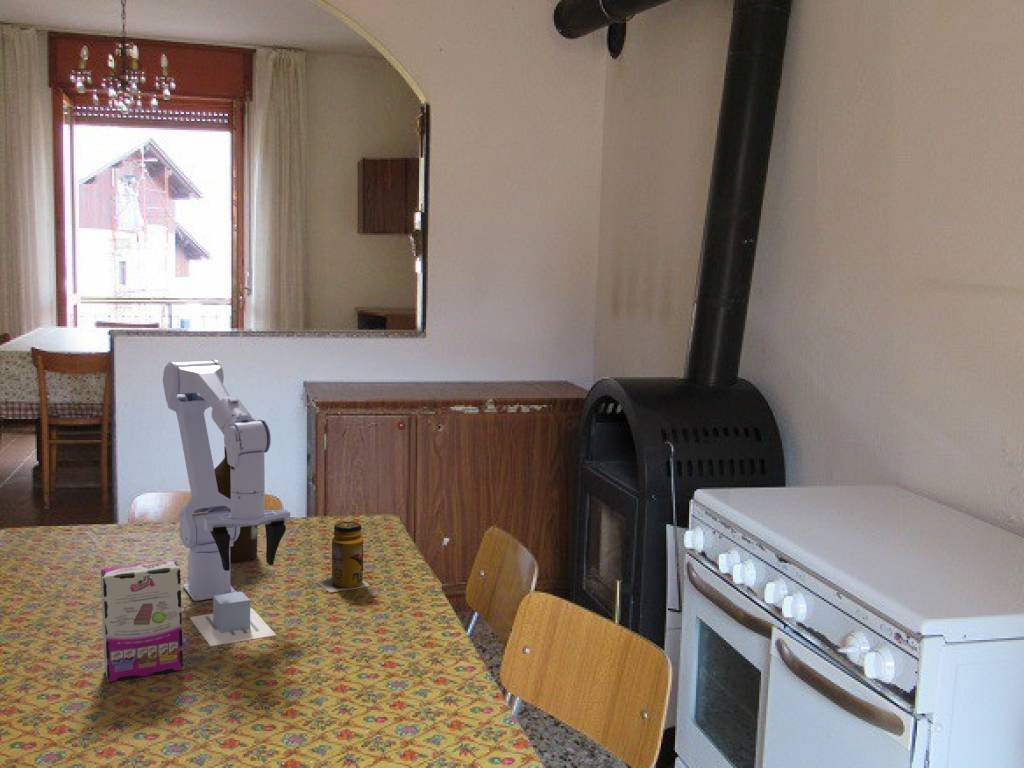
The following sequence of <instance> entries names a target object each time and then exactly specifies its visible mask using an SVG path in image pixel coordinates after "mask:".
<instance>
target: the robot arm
mask: <svg viewBox="0 0 1024 768" xmlns="http://www.w3.org/2000/svg"><path fill="white" fill-rule="evenodd" d="M224 380H225V379H224V370H223V366H222V365H221V363H220V362H219V361H218V360H217V359H211V360H199V361H198V360H195V361H176V362H175V361H168V362H167V363H166V365H165V366H164V369H163V377H162V384H163V385H162V386H163V390H164V396H165V402H166V404H167V408H168V409H169V410H172V411H174V412H175V413H176V418H177V423H178V428H179V434H180V439H181V444H182V450H183V455H184V461H185V466H186V473H187V479H188V483H189V489H190V495H191V497H190V499H188V501H187V502H185V503H184V504H183V506H182V507H181V508H180V510H179V511H178V512H179V513H178V515H179V537H180V540H181V543H182V544H183V546H184V547H185V548H187V549H189V550H188V554H187V569H188V570H187V575H188V576H187V579H188V581H187V582H188V583H184V584H182V585H183V586H182V587H183V588H184V591H186V593H187V594H188V595H189V597H191V599H192V600H193V601H195V602H199V601H204V600H205V601H206V600H211V599H212V600H213V596H215V595H222V594H228V593H235V592H237V590H235V588H234V587H233V586H232V584H231V563H230V547H231V546H233V542H234V541H236V540H237V538H238V536H239V533H240V527H244V526H254V525H258V526H262V525H263V526H265V527H264V528H265V538H266V541H265V542H266V548H265V549H266V550H265V551H266V553H265V560H266V561H265V562H266V564H267V565H269V566H274V564H275V563H274V562H275V558H276V554H277V552H278V551H277V550H278V547H279V545H280V543H281V540H282V538H283V536H284V535H285V533H286V531H287V525H285V524H289V523H291V512H290V510H288V509H280V510H279V509H277V510H267V509H265V505H266V503H265V501H266V500H265V498H266V497H265V495H266V494H265V493H266V492H265V489H266V488H265V487H266V486H265V483H266V481H265V477H266V476H265V453H267V452H268V451H269V450H270V447H271V443H272V442H271V441H272V440H271V439H272V438H271V436H272V435H271V432H270V431H271V430H270V428H269V425H268V423H267V422H266V420H265V419H261V418H260V419H259V418H254V417H253V416H252V414H251V413H250V412H249V411H248V410H247V409H248V408H246V407H245V405H244V404H243V403H242V401H241V400H240V399H239V398H237V397H235V396H230V394H229V392H228V390H227V389H226V387H225V385H224ZM209 408H211V419H212V420H213V421H214V424H216V426H217V427H218V429H219V430H220V432H221V433H222V434H223V436H224V437H223V441H224V447H225V448H226V452H227V461H228V464H229V465H230V476H231V500H230V499H229V498H227V497H225V496H224V495H222V494H220V493H219V492H218V487H217V482H216V476H215V471H214V469H215V466H214V461H213V460H214V459H213V455H212V449H211V446H210V445H211V444H210V439H209V433H208V429H207V428H208V427H207V423H206V418H205V417H206V416H205V411H206V410H207V409H209ZM208 511H213V512H208Z"/></svg>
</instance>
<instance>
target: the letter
mask: <svg viewBox="0 0 1024 768" xmlns="http://www.w3.org/2000/svg"><path fill="white" fill-rule="evenodd" d="M189 618H190V620H191V622H192V623H193V625H194V626H195V627H196V629H197V630H198V631H199V633H200V634H201V635H202V637H203V638H204V640H205V641H206V642H207V643H208V646H209V647H215V646H221V645H226V644H234V643H239V642H245V641H252V640H256V639H262V638H269V637H274V636H277V634H276V632H274V631H273V629H272V628H271V627H270V625H268V624H267V623H266V622H265V621H264V619H262V617H261V616H260V615H259V614H258V613H257V612H256V611H255V609H253V607H250V628H249V629H243V630H237V631H231V632H224V633H221V632H220V631H219V630H218V629H217V627H216V626H215V625H214V624H213V613H209V614H202V615H196V616H189Z"/></svg>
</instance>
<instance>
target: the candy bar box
mask: <svg viewBox="0 0 1024 768" xmlns="http://www.w3.org/2000/svg"><path fill="white" fill-rule="evenodd" d="M181 578H182V577H181V567H180V565H178V563H177V562H176V560H175V559H172V560H163V561H153V562H145V563H139V564H131V565H123V566H115V567H107V568H100V587H101V589H100V591H101V609H102V610H101V612H102V613H101V614H102V636H103V638H102V640H103V657H104V659H103V661H104V672H105V676H106V680H107V682H108V683H110V682H111V683H112V682H118V681H124V680H131V679H135V678H136V679H137V678H140V677H141V678H142V677H148V676H149V677H150V676H154V675H159V674H167V673H170V672H171V673H172V672H179V671H182V670H183V669H184V649H183V641H182V634H183V624H182V623H183V617H182V616H183V615H182V614H183V613H182V587H181V586H182V585H181V582H182V581H181Z"/></svg>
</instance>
